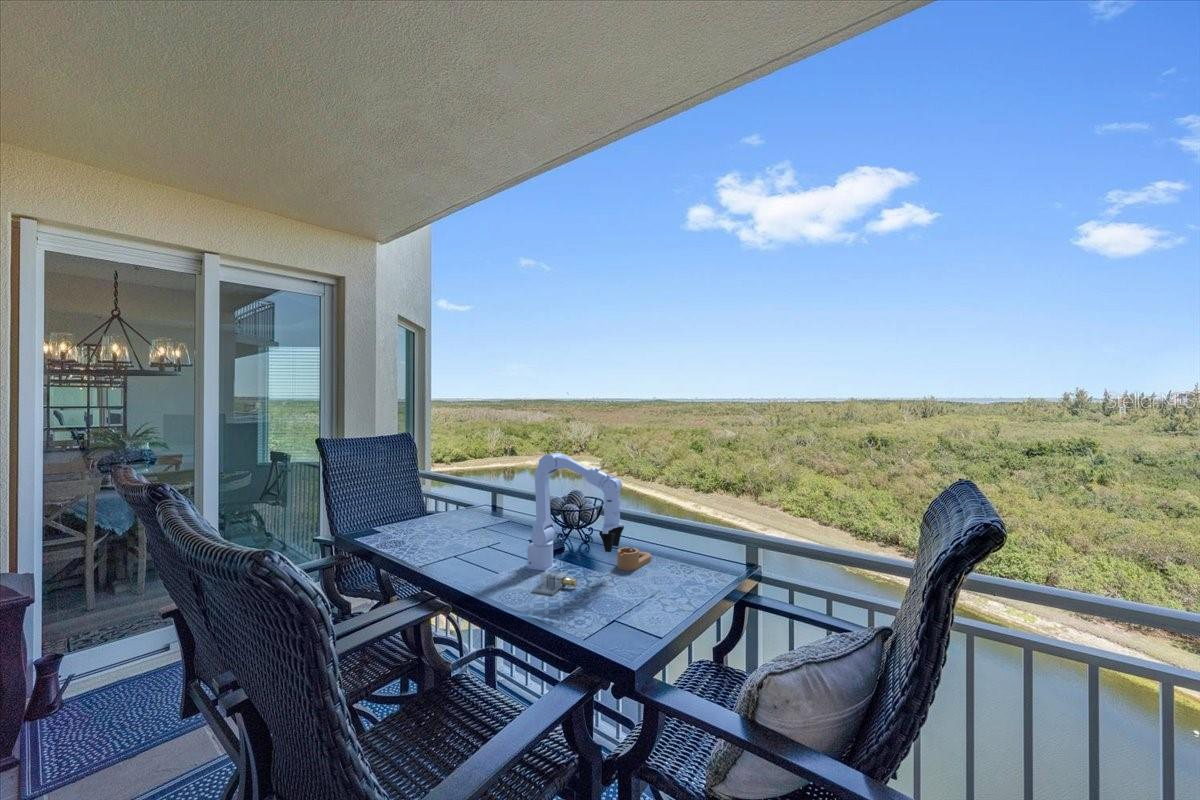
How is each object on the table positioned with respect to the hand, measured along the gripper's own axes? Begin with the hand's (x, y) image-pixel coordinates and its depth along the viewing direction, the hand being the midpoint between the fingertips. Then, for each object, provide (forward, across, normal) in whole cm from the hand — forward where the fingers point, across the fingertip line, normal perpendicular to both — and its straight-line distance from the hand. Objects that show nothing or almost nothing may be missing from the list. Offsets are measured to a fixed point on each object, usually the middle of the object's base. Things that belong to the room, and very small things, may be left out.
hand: (611, 548), depth 173 cm
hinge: (+10, -15, +16) cm, 24 cm away
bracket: (+11, +16, -4) cm, 20 cm away
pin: (+10, -15, +12) cm, 22 cm away
